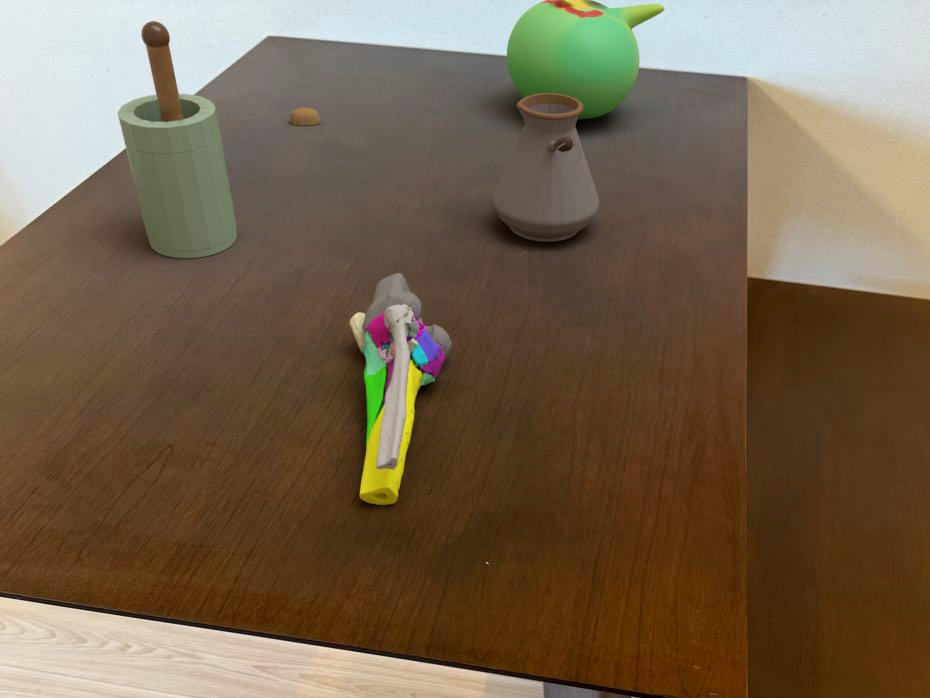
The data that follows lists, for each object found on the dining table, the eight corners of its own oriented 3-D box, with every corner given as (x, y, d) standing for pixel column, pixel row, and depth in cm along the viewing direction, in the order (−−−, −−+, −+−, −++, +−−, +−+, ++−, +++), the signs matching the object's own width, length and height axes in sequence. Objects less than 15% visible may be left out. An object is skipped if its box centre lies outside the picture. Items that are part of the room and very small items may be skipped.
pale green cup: (140, 258, 97) (107, 126, 88) (159, 219, 103) (130, 92, 94) (229, 259, 97) (205, 128, 88) (243, 220, 104) (222, 94, 95)
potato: (321, 125, 124) (320, 111, 123) (289, 126, 123) (288, 112, 122) (321, 117, 126) (320, 103, 125) (290, 118, 125) (288, 104, 124)
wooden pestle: (174, 239, 98) (127, 27, 85) (180, 223, 101) (136, 15, 87) (210, 239, 99) (169, 28, 85) (216, 223, 101) (177, 16, 88)
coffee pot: (489, 202, 109) (491, 61, 99) (590, 203, 110) (602, 63, 100) (499, 298, 94) (503, 142, 83) (616, 297, 94) (635, 143, 84)
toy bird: (481, 105, 131) (482, -16, 121) (572, 82, 139) (580, -34, 129) (570, 148, 121) (580, 20, 111) (663, 120, 130) (679, -2, 119)
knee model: (364, 547, 75) (378, 337, 90) (459, 519, 72) (457, 309, 88) (300, 474, 68) (327, 262, 83) (403, 440, 66) (411, 229, 81)
